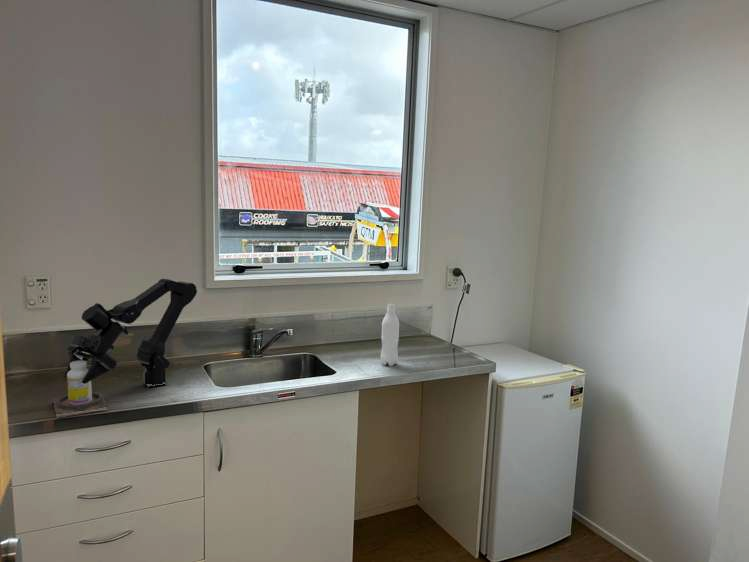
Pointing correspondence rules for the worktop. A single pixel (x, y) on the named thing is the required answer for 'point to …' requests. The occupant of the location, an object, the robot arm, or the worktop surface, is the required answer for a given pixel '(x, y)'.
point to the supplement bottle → (78, 384)
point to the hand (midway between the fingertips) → (74, 380)
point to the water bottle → (390, 336)
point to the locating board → (65, 407)
